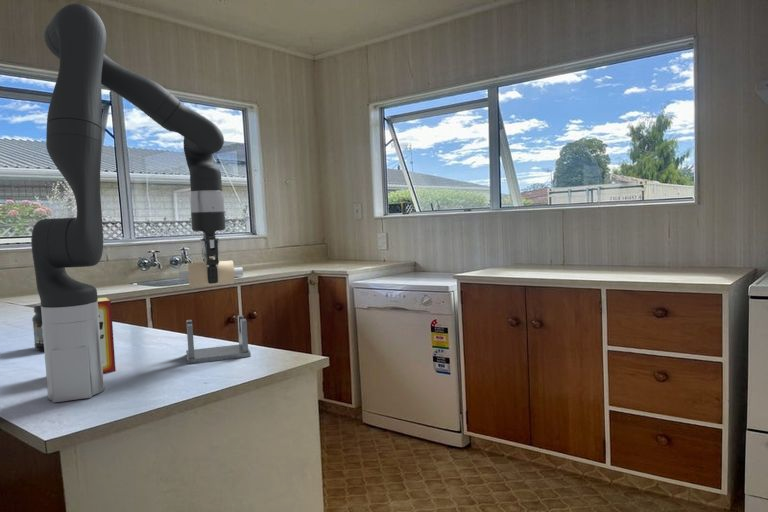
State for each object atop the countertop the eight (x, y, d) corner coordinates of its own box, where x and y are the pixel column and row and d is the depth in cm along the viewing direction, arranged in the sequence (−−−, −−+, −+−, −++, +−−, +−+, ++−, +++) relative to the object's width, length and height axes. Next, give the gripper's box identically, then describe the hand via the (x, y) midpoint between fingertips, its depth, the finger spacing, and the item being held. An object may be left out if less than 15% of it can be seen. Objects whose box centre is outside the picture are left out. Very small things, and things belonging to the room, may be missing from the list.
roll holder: (250, 356, 126) (248, 320, 125) (187, 364, 121) (185, 326, 120) (245, 347, 135) (243, 314, 135) (186, 354, 130) (184, 319, 130)
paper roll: (241, 281, 133) (240, 259, 132) (244, 283, 127) (243, 260, 127) (179, 286, 127) (177, 263, 127) (179, 288, 122) (178, 264, 122)
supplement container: (73, 341, 151) (70, 299, 151) (85, 346, 144) (82, 302, 143) (30, 348, 144) (26, 304, 143) (40, 354, 137) (36, 307, 136)
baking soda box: (112, 365, 123) (107, 295, 122) (115, 371, 117) (110, 298, 116) (64, 372, 118) (59, 300, 117) (65, 379, 112) (59, 303, 111)
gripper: (227, 209, 121) (231, 283, 122) (221, 210, 134) (225, 278, 135) (192, 210, 118) (197, 286, 119) (189, 211, 131) (193, 280, 133)
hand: (212, 281), depth 127 cm, fingers closed on paper roll, 5 cm apart
